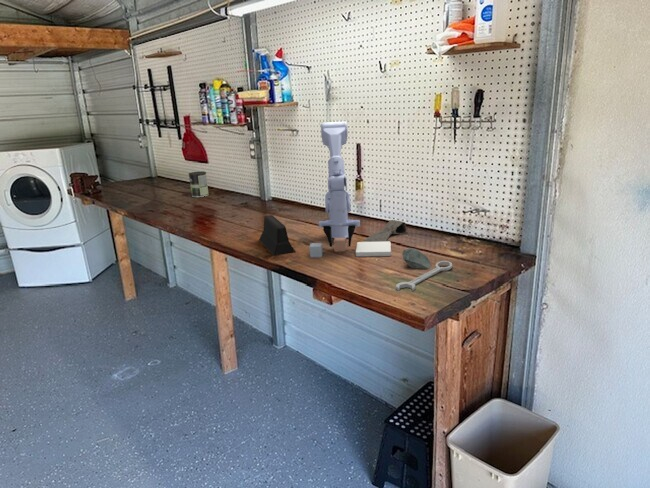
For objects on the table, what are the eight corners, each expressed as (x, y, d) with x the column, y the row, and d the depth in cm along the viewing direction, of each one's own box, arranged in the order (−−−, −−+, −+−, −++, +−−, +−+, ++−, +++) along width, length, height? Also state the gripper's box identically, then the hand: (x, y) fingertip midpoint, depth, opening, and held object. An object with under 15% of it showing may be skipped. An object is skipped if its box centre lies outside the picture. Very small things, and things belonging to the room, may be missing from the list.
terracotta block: (335, 248, 174) (335, 237, 173) (346, 248, 173) (346, 237, 172) (334, 251, 170) (333, 241, 169) (345, 251, 169) (345, 240, 168)
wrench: (408, 294, 131) (408, 288, 130) (392, 290, 135) (392, 283, 134) (455, 268, 148) (456, 262, 147) (440, 265, 152) (440, 259, 151)
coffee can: (192, 198, 284) (188, 174, 280) (191, 195, 293) (188, 172, 289) (209, 196, 287) (206, 173, 283) (208, 193, 296) (205, 170, 292)
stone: (434, 262, 157) (406, 251, 160) (438, 251, 155) (409, 241, 158) (427, 276, 148) (397, 264, 151) (431, 265, 146) (400, 254, 149)
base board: (357, 245, 175) (357, 242, 174) (390, 245, 173) (390, 241, 173) (355, 256, 163) (355, 252, 163) (390, 255, 162) (390, 251, 161)
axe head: (379, 241, 173) (358, 237, 180) (380, 253, 175) (360, 249, 182) (411, 220, 185) (390, 217, 192) (412, 232, 188) (392, 229, 194)
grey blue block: (311, 253, 169) (310, 243, 168) (322, 253, 169) (322, 242, 167) (310, 257, 165) (309, 246, 164) (321, 257, 165) (320, 246, 164)
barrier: (296, 252, 172) (294, 226, 169) (273, 256, 169) (270, 229, 166) (279, 237, 193) (277, 213, 190) (258, 240, 190) (256, 216, 187)
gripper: (316, 212, 164) (319, 249, 168) (358, 211, 162) (359, 248, 166) (319, 207, 171) (321, 243, 175) (359, 206, 169) (360, 242, 173)
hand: (340, 245), depth 171 cm, fingers open, 6 cm apart
